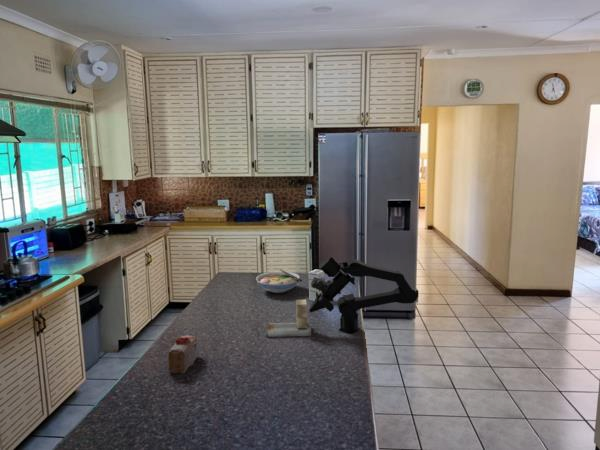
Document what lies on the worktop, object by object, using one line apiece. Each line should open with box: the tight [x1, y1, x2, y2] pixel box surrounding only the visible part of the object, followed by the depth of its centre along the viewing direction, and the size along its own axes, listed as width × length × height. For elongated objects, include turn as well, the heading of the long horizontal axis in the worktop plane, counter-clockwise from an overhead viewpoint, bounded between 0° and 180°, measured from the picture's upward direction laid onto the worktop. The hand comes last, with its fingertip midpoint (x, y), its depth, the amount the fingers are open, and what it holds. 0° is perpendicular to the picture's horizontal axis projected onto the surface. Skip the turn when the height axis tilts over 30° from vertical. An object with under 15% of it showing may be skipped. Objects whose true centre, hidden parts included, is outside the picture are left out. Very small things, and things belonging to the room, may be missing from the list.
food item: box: [167, 334, 201, 374], centre depth 159 cm, size 14×8×10 cm, turn 175°
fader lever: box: [295, 299, 308, 329], centre depth 184 cm, size 4×6×11 cm
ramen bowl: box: [255, 268, 303, 294], centre depth 235 cm, size 25×23×8 cm
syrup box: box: [308, 268, 326, 302], centre depth 221 cm, size 6×6×14 cm
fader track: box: [265, 321, 312, 338], centre depth 185 cm, size 18×8×2 cm, turn 92°
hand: (310, 311), depth 184 cm, fingers closed
